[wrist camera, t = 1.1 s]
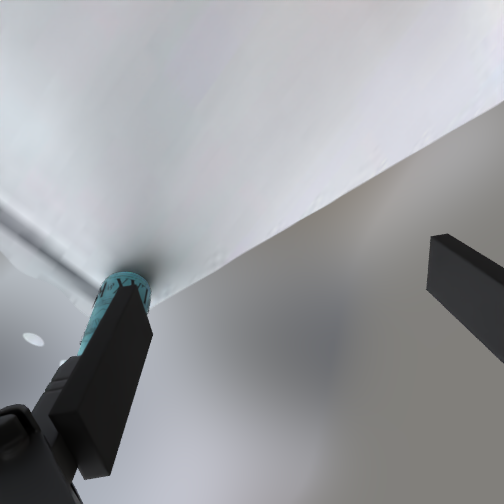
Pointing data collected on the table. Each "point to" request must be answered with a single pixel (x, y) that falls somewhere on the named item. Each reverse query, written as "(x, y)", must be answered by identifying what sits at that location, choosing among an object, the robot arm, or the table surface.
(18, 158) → the table surface
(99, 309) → the beverage bottle
